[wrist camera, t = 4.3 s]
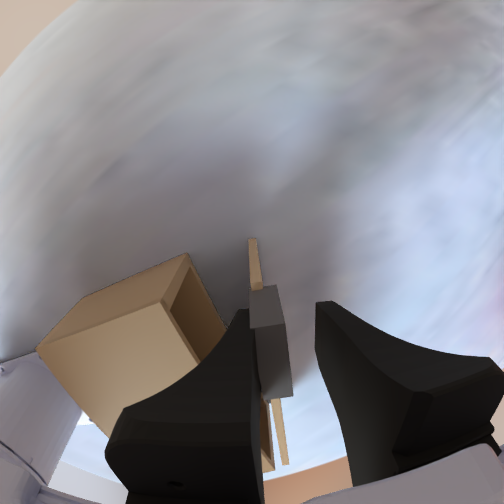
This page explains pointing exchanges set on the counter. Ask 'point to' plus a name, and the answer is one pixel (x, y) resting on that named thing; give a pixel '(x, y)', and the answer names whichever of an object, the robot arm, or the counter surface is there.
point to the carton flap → (270, 344)
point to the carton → (138, 343)
